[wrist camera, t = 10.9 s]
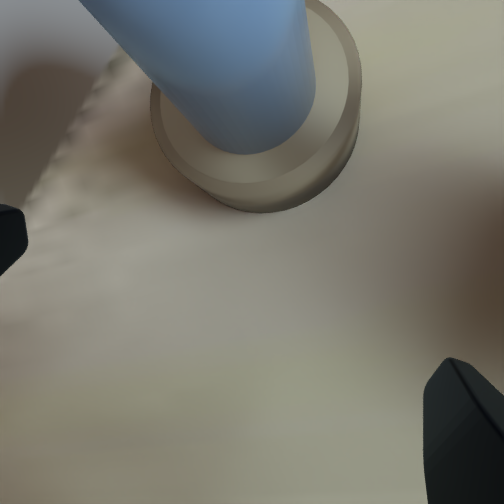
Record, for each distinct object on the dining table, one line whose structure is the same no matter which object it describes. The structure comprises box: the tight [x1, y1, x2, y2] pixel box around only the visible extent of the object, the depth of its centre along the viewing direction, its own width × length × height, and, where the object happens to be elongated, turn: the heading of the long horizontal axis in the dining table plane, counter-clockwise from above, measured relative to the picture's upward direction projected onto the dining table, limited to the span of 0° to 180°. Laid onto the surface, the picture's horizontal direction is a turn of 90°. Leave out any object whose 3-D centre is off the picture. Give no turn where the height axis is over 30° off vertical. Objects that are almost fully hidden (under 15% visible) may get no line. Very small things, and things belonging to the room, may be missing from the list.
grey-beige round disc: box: [150, 0, 362, 213], centre depth 18 cm, size 9×9×4 cm
